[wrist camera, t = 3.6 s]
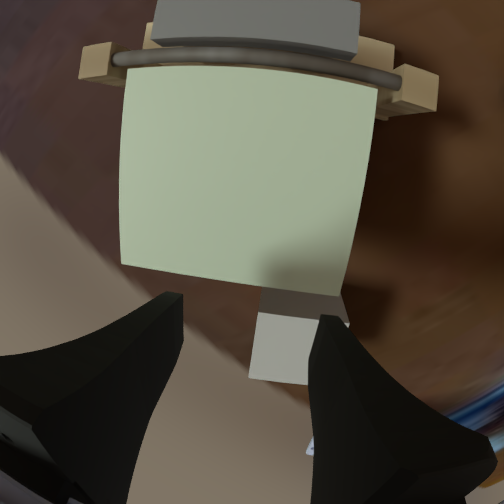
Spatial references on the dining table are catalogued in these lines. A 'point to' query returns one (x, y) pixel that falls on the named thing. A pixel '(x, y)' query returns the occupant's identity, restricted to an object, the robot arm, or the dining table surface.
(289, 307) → the white cube
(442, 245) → the dining table surface
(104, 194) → the dining table surface
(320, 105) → the trapdoor
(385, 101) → the frame
